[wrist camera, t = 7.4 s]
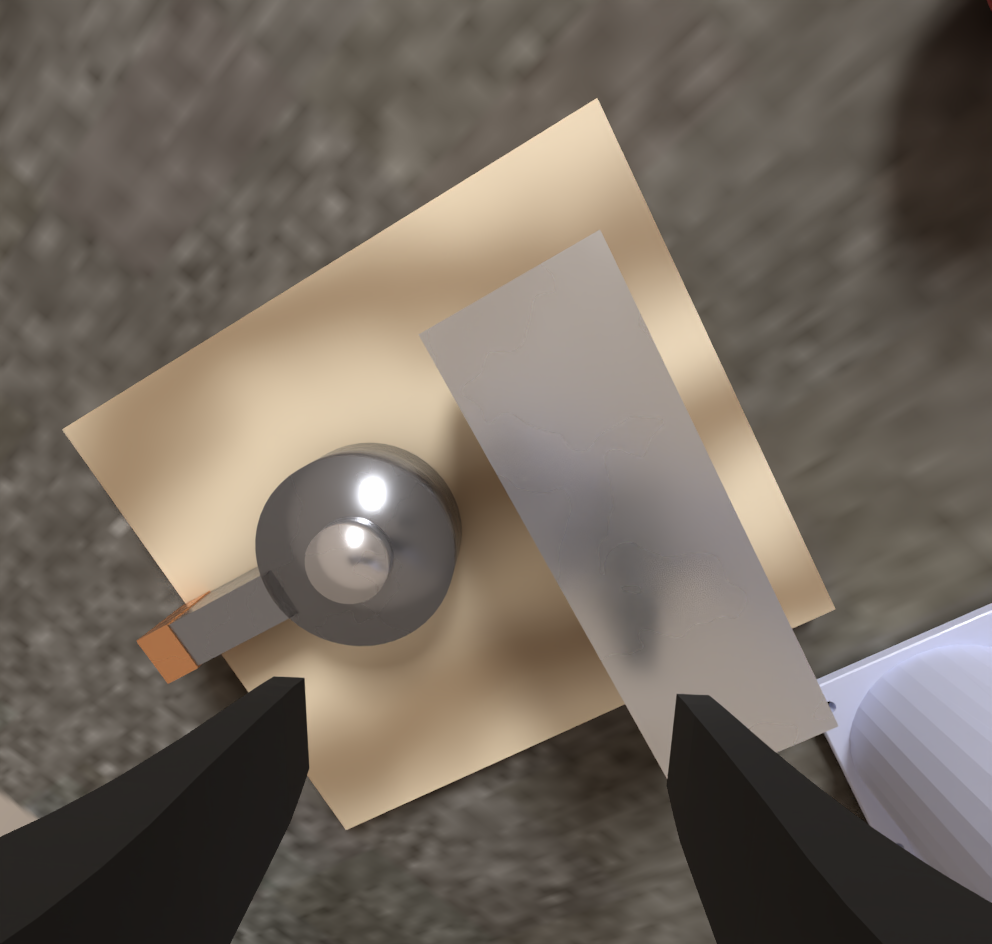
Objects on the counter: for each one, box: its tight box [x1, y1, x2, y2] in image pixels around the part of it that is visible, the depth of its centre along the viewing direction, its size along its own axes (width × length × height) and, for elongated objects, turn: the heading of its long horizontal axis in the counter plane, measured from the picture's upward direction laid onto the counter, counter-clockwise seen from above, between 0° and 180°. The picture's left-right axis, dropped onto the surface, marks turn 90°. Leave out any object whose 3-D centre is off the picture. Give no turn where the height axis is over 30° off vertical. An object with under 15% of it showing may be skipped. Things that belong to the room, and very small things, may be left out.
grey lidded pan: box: [137, 443, 462, 684], centre depth 18 cm, size 11×6×3 cm, turn 119°
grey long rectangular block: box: [418, 230, 838, 778], centre depth 14 cm, size 12×4×5 cm, turn 29°
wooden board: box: [62, 99, 835, 830], centre depth 19 cm, size 18×20×3 cm
